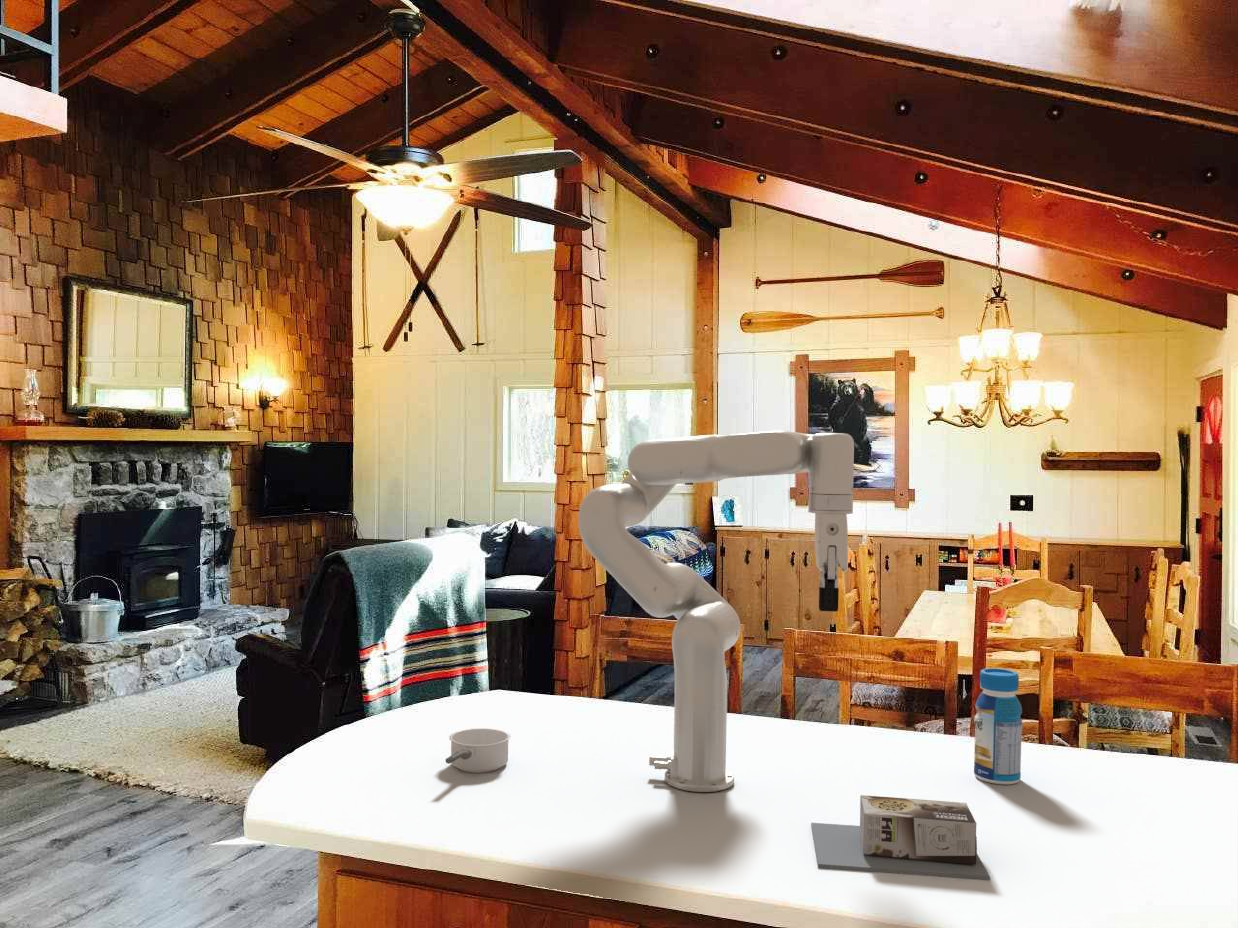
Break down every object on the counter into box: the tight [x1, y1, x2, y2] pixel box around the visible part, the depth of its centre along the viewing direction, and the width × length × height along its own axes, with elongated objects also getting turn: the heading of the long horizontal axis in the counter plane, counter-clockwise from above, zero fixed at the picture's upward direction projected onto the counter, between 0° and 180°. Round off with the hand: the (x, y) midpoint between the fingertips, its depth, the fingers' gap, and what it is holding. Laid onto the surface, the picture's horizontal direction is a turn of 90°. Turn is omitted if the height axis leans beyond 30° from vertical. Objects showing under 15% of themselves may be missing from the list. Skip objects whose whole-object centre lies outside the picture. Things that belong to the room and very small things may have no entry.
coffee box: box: [859, 794, 978, 865], centre depth 148 cm, size 9×6×16 cm
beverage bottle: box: [973, 667, 1024, 786], centre depth 183 cm, size 8×8×20 cm
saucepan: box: [445, 727, 511, 774], centre depth 181 cm, size 12×20×6 cm, turn 166°
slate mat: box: [810, 822, 991, 881], centre depth 148 cm, size 24×16×1 cm, turn 82°
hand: (828, 610), depth 169 cm, fingers closed
